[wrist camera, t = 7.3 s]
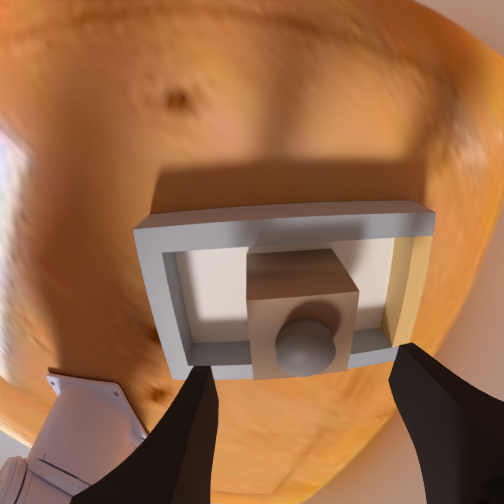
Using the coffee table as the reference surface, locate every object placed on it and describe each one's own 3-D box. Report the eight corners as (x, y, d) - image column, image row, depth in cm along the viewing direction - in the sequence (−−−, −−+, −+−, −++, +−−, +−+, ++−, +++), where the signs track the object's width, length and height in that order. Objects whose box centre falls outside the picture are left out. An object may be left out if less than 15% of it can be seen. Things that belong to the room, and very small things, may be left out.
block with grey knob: (327, 318, 17) (352, 385, 12) (252, 324, 17) (253, 395, 12) (331, 248, 15) (368, 304, 10) (246, 254, 15) (246, 315, 10)
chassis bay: (390, 335, 18) (404, 358, 16) (179, 352, 18) (172, 379, 16) (412, 200, 15) (435, 212, 12) (149, 214, 15) (132, 229, 13)
